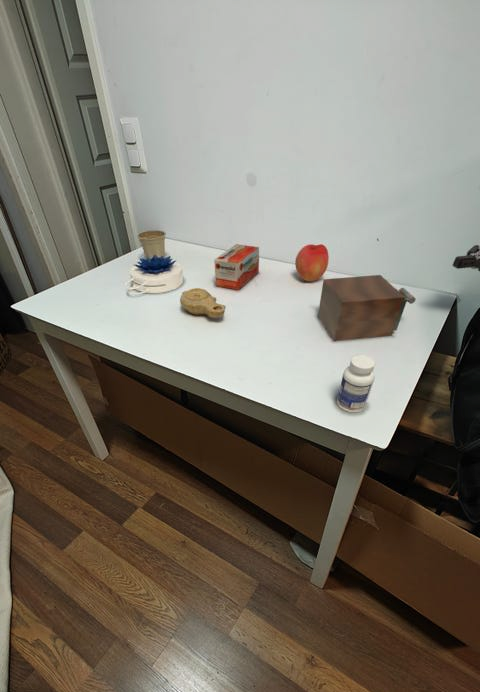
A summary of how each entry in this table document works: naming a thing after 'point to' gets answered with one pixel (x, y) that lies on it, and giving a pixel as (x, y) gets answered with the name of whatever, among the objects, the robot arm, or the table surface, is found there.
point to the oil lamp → (201, 303)
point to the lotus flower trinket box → (155, 275)
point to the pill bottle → (356, 384)
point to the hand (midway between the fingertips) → (456, 262)
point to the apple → (312, 262)
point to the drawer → (409, 299)
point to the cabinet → (359, 307)
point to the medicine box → (236, 266)
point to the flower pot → (153, 243)
